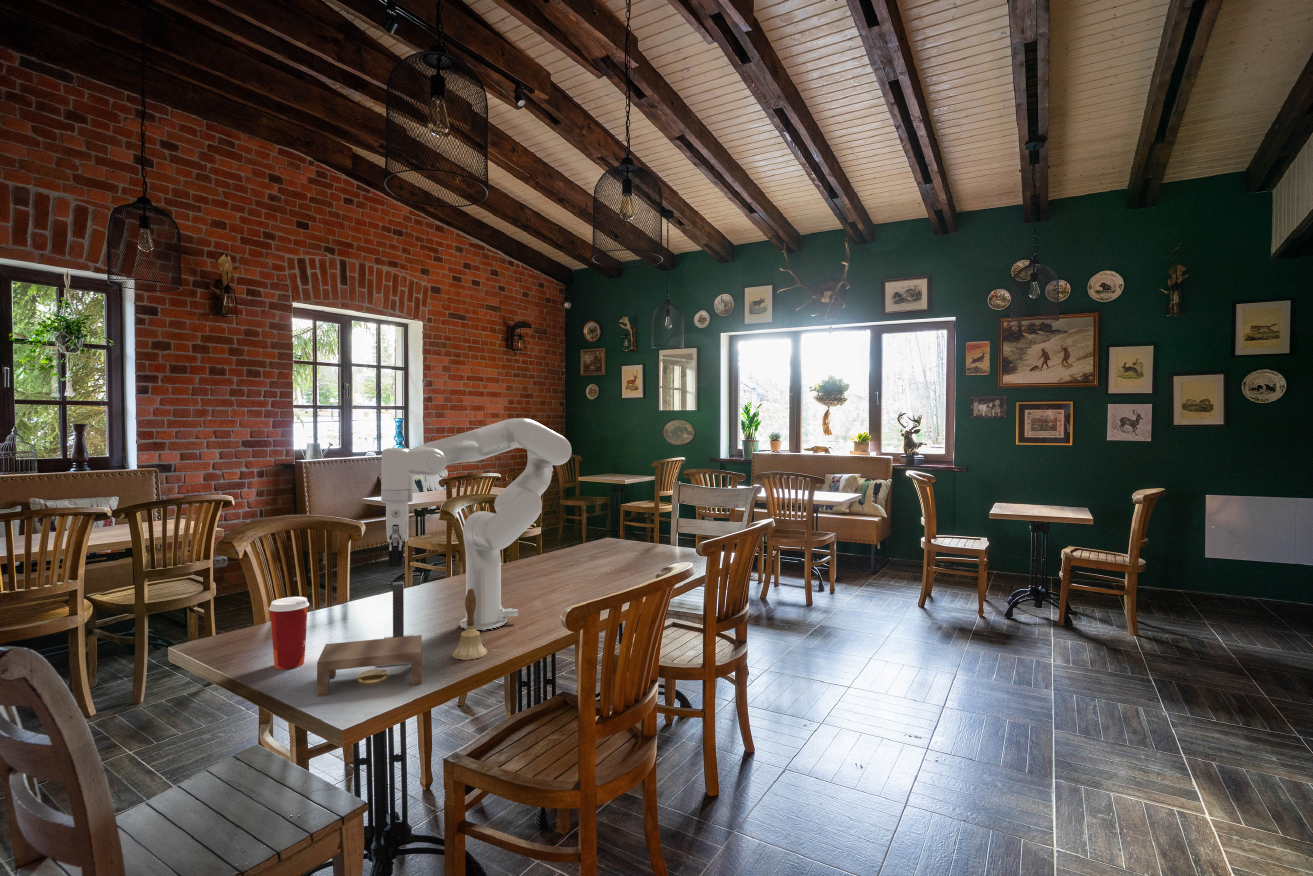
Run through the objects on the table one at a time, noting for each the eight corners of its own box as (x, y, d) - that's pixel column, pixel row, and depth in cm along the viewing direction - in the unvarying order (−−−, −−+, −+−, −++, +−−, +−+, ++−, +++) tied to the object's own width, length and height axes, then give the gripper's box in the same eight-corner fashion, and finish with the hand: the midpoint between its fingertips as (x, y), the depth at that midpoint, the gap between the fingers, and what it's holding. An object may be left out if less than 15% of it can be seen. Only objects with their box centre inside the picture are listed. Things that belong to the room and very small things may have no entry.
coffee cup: (317, 661, 154) (317, 597, 154) (287, 673, 146) (287, 606, 146) (290, 657, 157) (290, 594, 157) (259, 669, 149) (259, 603, 149)
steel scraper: (413, 639, 171) (412, 581, 171) (410, 664, 153) (410, 599, 153) (384, 641, 169) (383, 583, 169) (378, 667, 151) (377, 601, 150)
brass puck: (388, 674, 147) (388, 667, 147) (387, 684, 141) (387, 677, 141) (359, 677, 145) (358, 671, 144) (356, 688, 139) (356, 681, 139)
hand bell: (493, 650, 162) (493, 586, 162) (477, 661, 154) (477, 594, 154) (463, 647, 164) (463, 584, 164) (445, 659, 156) (445, 592, 156)
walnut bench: (421, 665, 152) (421, 635, 152) (421, 684, 140) (421, 651, 140) (326, 675, 145) (325, 644, 145) (317, 696, 134) (317, 662, 134)
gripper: (411, 499, 161) (410, 568, 161) (413, 493, 177) (412, 556, 178) (378, 499, 159) (377, 570, 159) (383, 493, 175) (382, 557, 175)
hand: (396, 562), depth 168 cm, fingers open, 9 cm apart
